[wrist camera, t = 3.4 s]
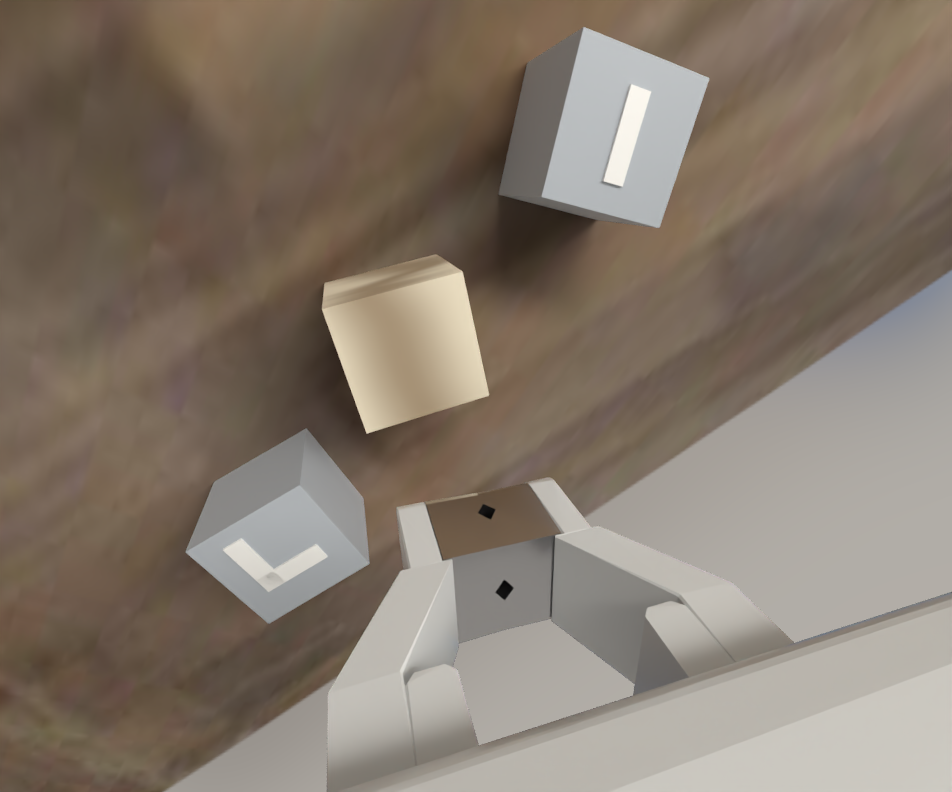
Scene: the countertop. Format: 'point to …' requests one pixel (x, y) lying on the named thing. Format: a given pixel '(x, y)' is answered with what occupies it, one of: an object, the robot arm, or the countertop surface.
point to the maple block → (405, 340)
